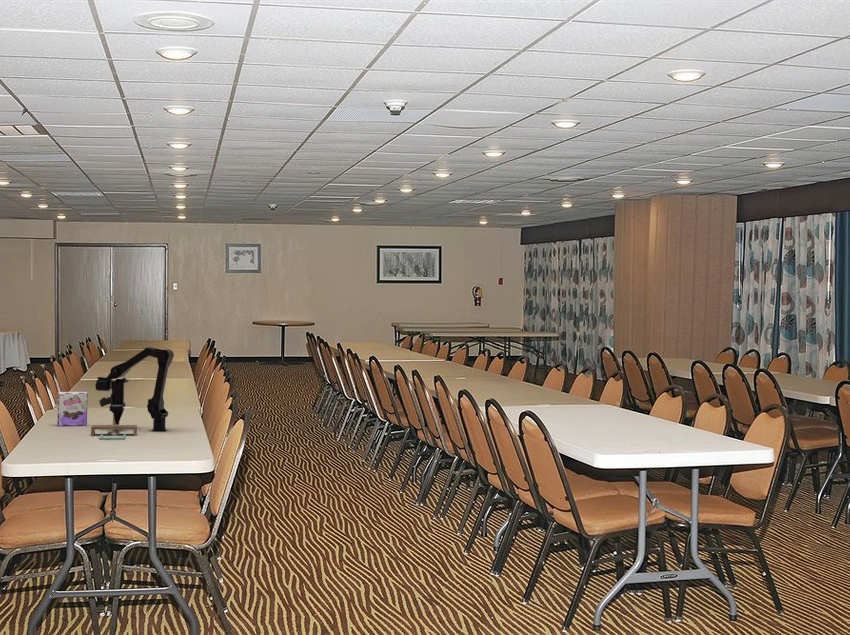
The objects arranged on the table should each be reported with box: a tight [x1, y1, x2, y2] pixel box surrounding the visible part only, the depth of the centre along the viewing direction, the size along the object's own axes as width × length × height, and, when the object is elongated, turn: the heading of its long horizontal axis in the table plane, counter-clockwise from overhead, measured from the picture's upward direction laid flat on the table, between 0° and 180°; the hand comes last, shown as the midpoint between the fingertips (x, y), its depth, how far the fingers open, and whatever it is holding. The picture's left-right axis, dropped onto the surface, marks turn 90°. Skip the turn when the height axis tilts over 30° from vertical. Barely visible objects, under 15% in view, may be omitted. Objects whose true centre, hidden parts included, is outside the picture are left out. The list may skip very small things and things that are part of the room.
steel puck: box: [109, 431, 120, 437], centre depth 461 cm, size 4×4×2 cm
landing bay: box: [98, 434, 127, 441], centre depth 452 cm, size 11×11×1 cm
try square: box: [107, 413, 122, 435], centre depth 474 cm, size 22×5×9 cm, turn 13°
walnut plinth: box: [90, 424, 138, 437], centre depth 462 cm, size 6×20×4 cm, turn 104°
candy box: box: [56, 391, 89, 427], centre depth 490 cm, size 14×6×16 cm, turn 112°
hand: (117, 423), depth 483 cm, fingers closed on try square, 3 cm apart
